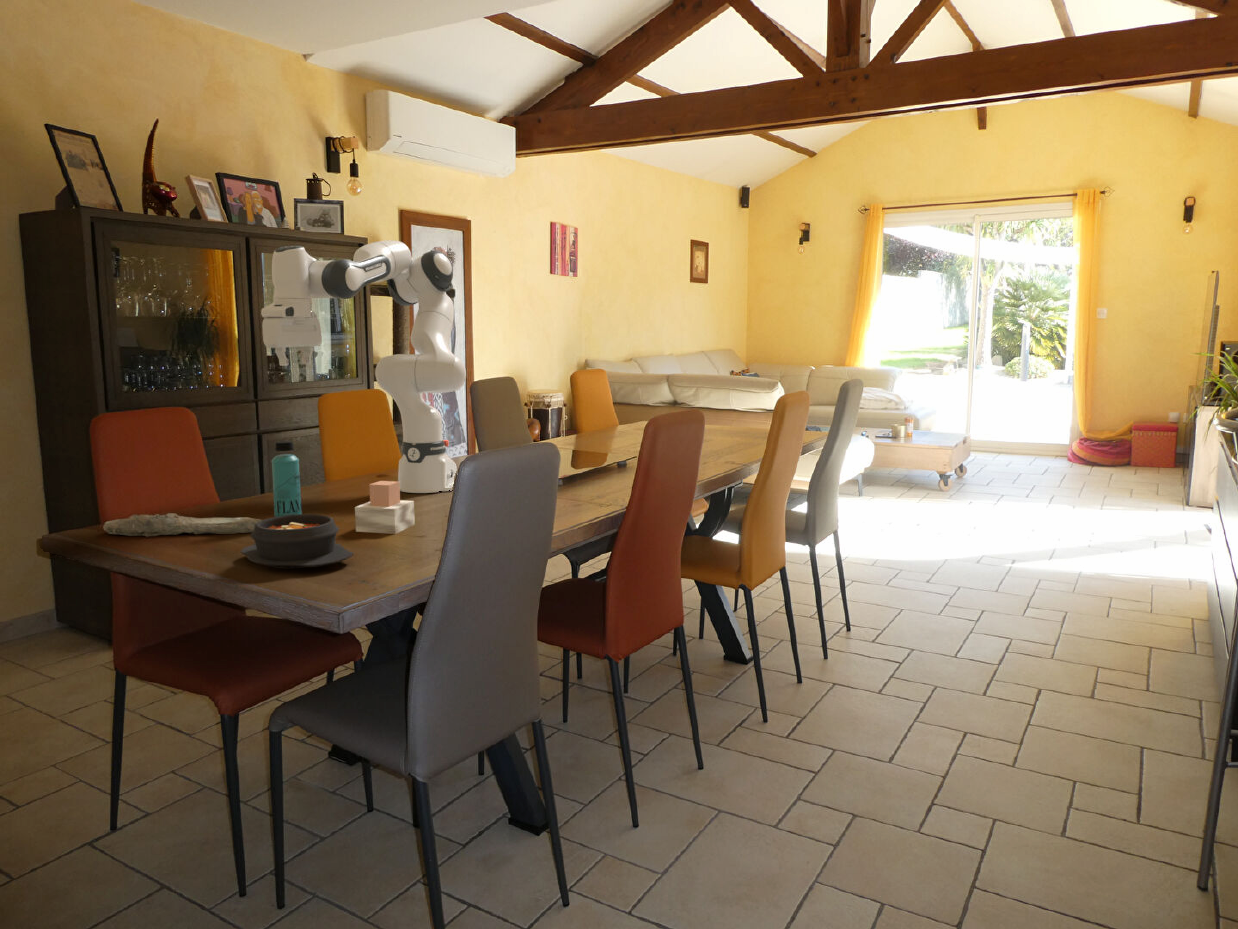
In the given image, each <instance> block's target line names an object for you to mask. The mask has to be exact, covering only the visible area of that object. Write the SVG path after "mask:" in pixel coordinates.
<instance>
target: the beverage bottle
mask: <svg viewBox="0 0 1238 929" xmlns="http://www.w3.org/2000/svg"><path fill="white" fill-rule="evenodd" d="M294 447H295V446H294V442H293V441H291V440H281V441H276V442H275V448H274V449H275V451H276V452H289V451H294V450H295V448H294ZM271 470H272V471H271V472H272V488H273V492H272V493H273V494H272V495H273V496H272V498H273V500H272V501H273V502H272V503H273V512H274V513H273V515H274V517H278V516H286V515H298V514H303V506H302V501H303V500H302V492H301V474H300V459H299V457H297V456H296V455H295V454H290V453H289V454H285V453H284V454H279V455H277V454H276V455H275V456H274V457H273V458H272V459H271Z"/></svg>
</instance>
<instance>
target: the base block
mask: <svg viewBox="0 0 1238 929" xmlns="http://www.w3.org/2000/svg"><path fill="white" fill-rule="evenodd" d="M354 516H355V517H354V518H355V521H354V522H355V532H358V533H359V532H361V533H373V534H374V533H375V534H377V533H378V534H392V535H396V534H398V533H400V532H403V531H404V530H406V529H409V528H410V527H412V526H415V521H416V520H415V519H416V517H415V501H414V500H402V499H400V503H398V504H395V505H392V506H390V507H388V506H372V505H370V501H368V502H365V503H362V504H359V505H357V506H355V507H354Z"/></svg>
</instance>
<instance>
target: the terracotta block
mask: <svg viewBox="0 0 1238 929" xmlns="http://www.w3.org/2000/svg"><path fill="white" fill-rule="evenodd" d="M368 485H369V502H370V505H372V506H388V507H390V506H392V505H395V504H398V503H400V500H401V491H400V483H399V482H398V481H393V480H391V481H389V480H379V481H376V482H373V483H369V484H368Z"/></svg>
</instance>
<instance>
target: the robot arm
mask: <svg viewBox="0 0 1238 929" xmlns="http://www.w3.org/2000/svg"><path fill="white" fill-rule="evenodd" d="M271 259H272V260H271V279H272V280H271V281H272V285H273V287H274V291H273V292H274V293H273V297H272V298H273V302H271V303H270V304H269V305H267V306H264V307H263V308H261V311H260V312H261V313H260V314H261V317H262V318H263V321H262V341H263V343H264V344H263V345H265V347H266V348H268V349H269V348H271V349H274V350H275V354H276V356H277V358H278V362H279V363H278V364H279V366H281V367H283V366H284V367H287V366H289V364H290V363H289V358H287V356H286V352H287V348H300V347H301V348H302V351H303V355H302V356H301V357H300V358H301V364H302V365H310V364H311V363H312V362H311V360H312V359H311V357H312V354H313V352H314V347H320V346H321V345H322V342H323V336H322V329H321V328H322V327H321V324H320V320H319V319H318V315H317V314H316V313H315V312H314V311H313V310H311V299H340V300H341V299H343V300H344V299H345V300H349V299H353V298H354V297H355V296H356V295H357V294H358V293H359V292H360V291H361V290H362V289H363V288H364V287H366V286H367V285H369V284H375V283H382V282H386V283H387V285H386V286H387V289H388V292H389V295H390V296H391V298H392V300H394V302H395V303H396V304H398V305H400V306H402V307H411V306H414V305H416V304H418V310H417V312H416V315H415V318H414V323H413V326H412V330H411V334H410V343H411V345H412V347H413V348H414V350H415V351H416V352H417V354H416V353H412V354H411V353H410V354H408V353H397V354H391V355H387V356H383V357H381V358H380V359H379V361H378V362H377V364H376V367H375V373H374V374H375V375H374V376H375V379H376V382H377V384H378V386H379V387H380V388H381V389H382V390H383V391H385V392H386V393H387V394H388V395H389V396H390V397H391V398H392V400H394V402H395V403H396V406H397V408H398V410H399V412H400V418H401V424H402V437H403V438H402V441H401V454H402V457H401V458H400V459H399V460H398V472H397V473H398V474H397V475H398V476H397V482H399V483H400V492H402V493H409V494H410V493H411V494H428V493H429V494H430V493H431V494H432V493H440V492H439V491H442V492H453V491H452V487H453V484H454V476H455V473H456V471H457V472H458V467H457V464H456V462H454V460H453V459H452V458H451V457H450V456H449V455H448V454H447V453H446V452H447V449H446V448H448V447H449V446H450V443H449V442H450V441H449V440H448V439H443V419H442V418H443V417H442V414H441V413H440V411H439V410H438V409H437V408H435V407H434V406H431V405H430V404H428V403H427V402H425V400H424V399H423V396H422V394H425V393H426V394H445V393H451V392H456V391H460V389H461V388H462V387H463V385H464V384H465V382H466V379H467V370H466V366H465V364H464V362H463V361H462V360H461V358H460V357H458V356H456V355H455V354H454V353H453V352H452V351H451V349H450V342H451V341H450V340H451V334H452V330H453V325H454V319H455V306H454V305H455V304H454V302H453V300H452V298H450V296H449V295H448V294H447V293H448V292H449V291H450V290H451V288H452V287H453V283H452V281H453V278H454V268H453V263H452V261H451V260H450V258H449V257H448V256H447V255H446V254H445V253H443V252H442V251H440V250H437V249H434V250H431V251H427V252H425V253H423V254H422V255H421V256H419V257H417V258H415V259H414V258H413V257H412V252H411V250H410V248H409V246H407V245H406V244H405V243H404V242H403V241H399V240H394V239H392V240H389V239H388V240H387V239H386V240H379V241H373V242H370V243H367V244H364V245H362V246H361V247H359V248H358V249H356V251H355V252H354V254H353V258H352V260H351V259H348V258H342V259H334V260H333V259H332V260H330V259H329V260H317V259H316V258H314V257H313V256H312V255H310V254H309V253H308V252H307V251H306V249H305V247H304V246H302V245H288V246H287V245H286V246H280V247H277V248H275V250H274V251H273V254H272V257H271ZM449 490H450V491H449Z"/></svg>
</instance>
